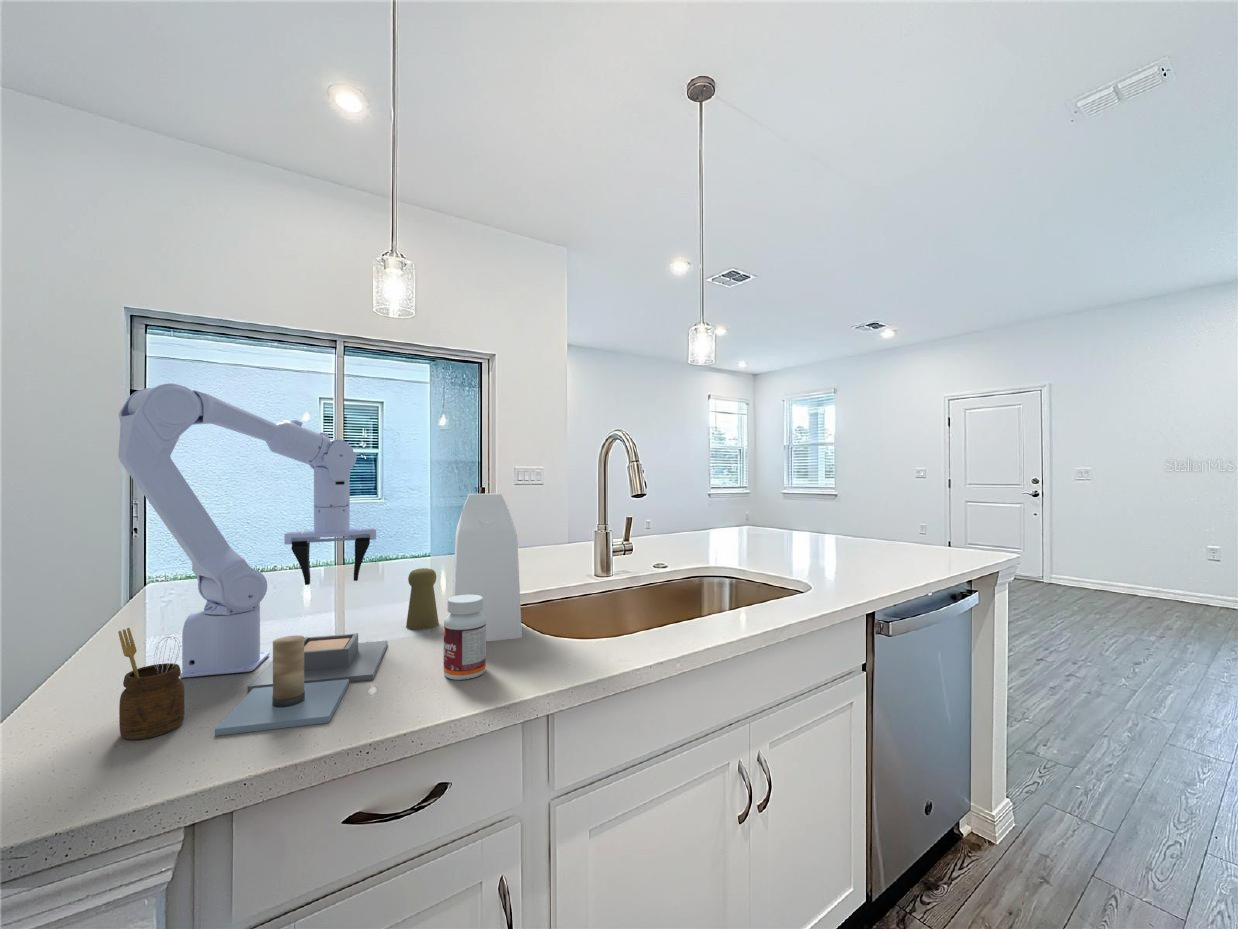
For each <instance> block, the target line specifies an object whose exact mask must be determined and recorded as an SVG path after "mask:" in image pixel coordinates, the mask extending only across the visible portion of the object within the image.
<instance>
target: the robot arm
mask: <svg viewBox="0 0 1238 929" xmlns="http://www.w3.org/2000/svg"><path fill="white" fill-rule="evenodd" d="M118 418H119V424H120V426H119V427H120V429H119V441H118V452H117V453H118V460H119V461H120V463H121V464H122V466H123V467H124V469H125V470H126V472H127V473H128V475H129V476H130V477H131V479H132V480H133V482H134V483H135V484H136V485H137V487H138V489H139V490H140V492H141V493H142V494H143V495H144V497H145V498H146V500H147V501H148V502H149V504H150V505H151V507H152V508H153V509H154V511H155V513H156V514H157V515H158V517H159V518H160V519H161V521H162V522H163V524H164V525H165V526H166V528H167V529H168V531H169V532H170V533H171V534H172V536H173V537H174V538H173V539H175V540H176V543H178V544H179V546H180V548H182V550H183V552H184V553H185V555H186V556H187V557H188V558H189V560H190V561H191V570H192V572H193V574H194V576H195V577H196V579H197V590H198V592H199V595H200V596H201V598H203V599H204V600H205V601H206V602H205V605H204V608H203V611H202V610H200V611H193V612H191V613H190V614H189V615H188V616H187V617H186V619H185V621H184V624H183V628H182V636H181V643H182V644H181V647H182V648H181V649H182V650H181V651H182V652H181V655H182V656H181V659H182V660H181V663H182V665H181V668H182V670H181V675H180V676H179V678H180V679H181V678H183V679H184V678H191V677H205V676H214V675H225V674H235V673H236V674H237V673H247V672H248V673H249V672H252V671H254V670H255V669H256V668H257V667H258V666H259V665H260V664H262V662H263V661H265V659H266V658H268V657H269V656H270V651H261V602H262V601H263V600H264V598H265V596H266V595H267V594H266V593H267V591H268V582H267V578H266V577H265V575H264V574H263V573H262V572H261V571H259V570H257V569H254V568H252V567H251V566H250V565H249V564H248V562H247V561H246V559H245V558H244V557H242V556H241V554H239V553H238V552H237V551H236V550H235V549H234V548H232V547H231V546H230V544H229V542H228V541H227V539H226V538H225V537H224V534H222V532H221V531H220V529H219V528H218V526H217V524H216V523H215V522H214V521H213V519H212V518H211V516H210V515H209V513H208V512H207V510H206V508H205V506H204V505H203V504H202V502H201V501H200V500H199V498H198V497H197V495H196V493H195V492H194V491H193V489H192V488H191V486H190V485H189V483H188V482H187V480H186V479H185V478H184V476H183V474H182V473H181V471H180V470H179V468H178V466H177V465H176V464H175V462H174V460H173V459H172V457H171V455H172V454H173V452H174V449H175V448H176V445H177V443H178V442H179V439H180V436H182V435H183V434H184V433H185V432H186V431H187V430H188V429H189V428H190V427H192V425H209V424H210V425H215V426H217V427H221V428H223V429H227V430H230V431H233V432H236V433H239V434H242V435H245V436H249V437H252V438H255V439H258V440H261V441H263V442H266V445H267V446H268V449H269V451H271V452H272V453H275V454H278V455H281V456H283V457H286V458H289V459H292V460H295V461H298V462H300V463H304V464H306V465H308V466H309V467H310V468H311V469H312V470H313V530H303V531H302V530H301V531H287V532H286V531H285V533H284V546H285V545H291V551H292V553H293V554H294V556H295V558H296V561H298V564H299V567H300V569H301V573H302V576H303V580H304V581H303V582H304V585H305V586H309V585H310V584H311V568H310V548H311V547H310V545H311V543H312V544H313V543H325V542H327V543H328V542H329V543H330V542H347V541H354V565H353V566H354V567H353V582H357V581H359V574H360V571H361V570H360V569H361V566H362V563H363V560H364V557H365V555H366V553H367V551H368V549H369V547H370V545H371V544H370V542H371V541H375V540H377V528H375V527H371V528H365V527H364V528H350V527H351V526H350V525H351V524H350V520H351V518H350V517H351V516H350V512H351V511H350V510H351V509H350V507H351V506H350V505H351V504H350V502H351V501H350V500H351V499H350V498H351V497H350V494H351V493H350V487H351V486H350V480H351V479H350V478H351V471H352V469H353V467H354V465H355V464H356V462H357V458H358V455H357V454H355V452H354V449H353V447H352V446H351V445H350V443H349V442H347V441H345V440H343V439H330V438H329V433H326V432H322V431H321V432H317V431H315V430H312V429H310V428H306V427H305V426H303V422H302V421H299V420H296V419H293V420H291V421H290V420H282V421H280V422H277V423H275V422H273V421H270V420H268V419H266V418H263V417H261V416H259V415H256V414H254V413H253V412H249V411H247V410H245V409H243V408H241V407H238V406H236V405H234V404H232V403H230V402H227V401H224V400H223V399H220V398H218V397H217V396H215V395H214V396H213V395H212V394H209V393H207V392H204V391H200V390H196V389H193V390H191V389H190V388H189V387H187V386H185V385H182V384H178V383H174V382H173V383H163V384H159V385H157V386H155V387H147V388H142V389H138V390H136V391H134V392H132V394H131V395H129V397H128V398H127V400H126V401H125V403H124V404H123V406H122V407H121V409H120V410H119V412H118Z"/></svg>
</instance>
